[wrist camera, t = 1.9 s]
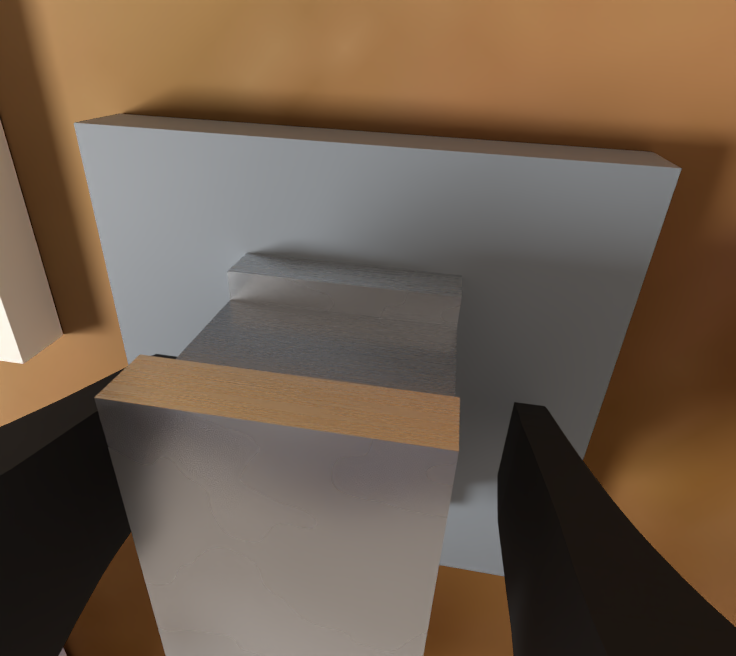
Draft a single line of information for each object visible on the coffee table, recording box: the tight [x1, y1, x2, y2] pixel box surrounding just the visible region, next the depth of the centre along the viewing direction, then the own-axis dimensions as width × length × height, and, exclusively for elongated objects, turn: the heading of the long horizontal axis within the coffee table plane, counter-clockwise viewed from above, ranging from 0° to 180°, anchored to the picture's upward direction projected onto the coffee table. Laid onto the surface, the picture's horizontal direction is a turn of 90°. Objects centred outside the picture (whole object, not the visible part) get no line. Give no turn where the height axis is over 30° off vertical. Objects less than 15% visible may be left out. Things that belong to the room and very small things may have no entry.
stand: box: [74, 114, 682, 576], centre depth 12 cm, size 11×11×2 cm
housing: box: [94, 253, 462, 656], centre depth 10 cm, size 6×4×5 cm
